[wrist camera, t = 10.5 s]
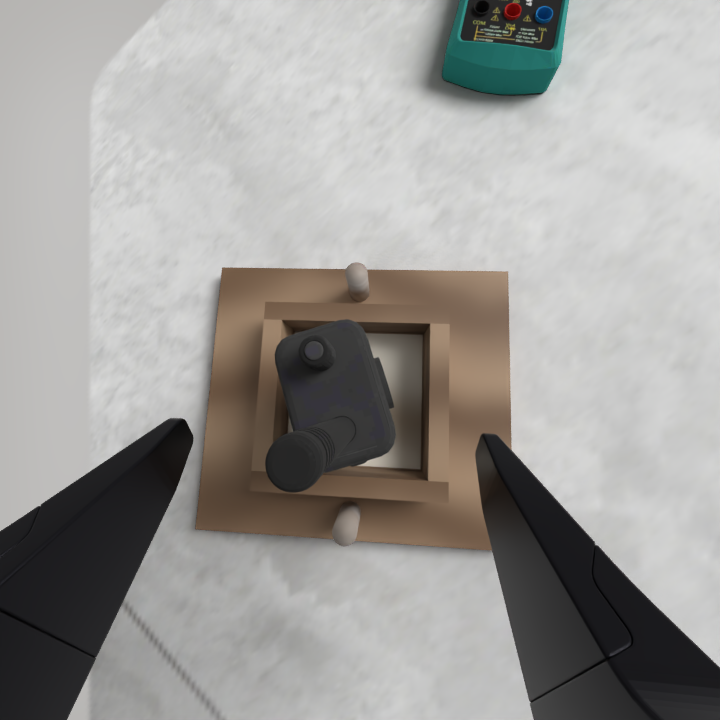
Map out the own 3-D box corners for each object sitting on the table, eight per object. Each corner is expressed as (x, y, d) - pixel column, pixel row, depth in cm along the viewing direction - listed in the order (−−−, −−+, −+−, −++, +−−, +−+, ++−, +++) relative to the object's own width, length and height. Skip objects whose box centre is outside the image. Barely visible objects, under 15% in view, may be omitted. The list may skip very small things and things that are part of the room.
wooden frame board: (506, 544, 19) (540, 581, 15) (204, 522, 20) (161, 552, 16) (502, 278, 21) (530, 248, 17) (229, 273, 22) (196, 245, 18)
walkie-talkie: (319, 369, 20) (129, 263, 5) (373, 353, 20) (348, 194, 5) (341, 448, 19) (199, 607, 4) (397, 431, 19) (457, 532, 4)
